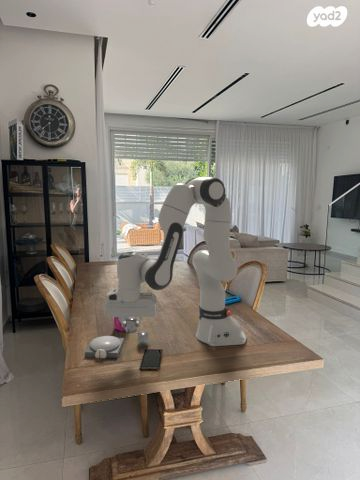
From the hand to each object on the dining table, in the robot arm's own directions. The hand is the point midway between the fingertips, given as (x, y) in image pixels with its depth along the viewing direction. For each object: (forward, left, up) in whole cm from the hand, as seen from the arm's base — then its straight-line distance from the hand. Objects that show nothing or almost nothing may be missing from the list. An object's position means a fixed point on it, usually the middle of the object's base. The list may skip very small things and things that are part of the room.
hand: (131, 326), depth 130 cm
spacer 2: (-3, -9, -12) cm, 15 cm away
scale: (+12, -3, -13) cm, 18 cm away
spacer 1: (0, 0, -2) cm, 2 cm away
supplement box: (+9, -24, -12) cm, 28 cm away
